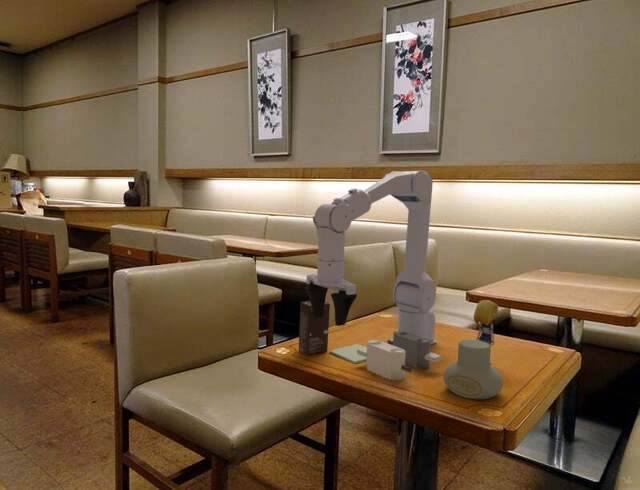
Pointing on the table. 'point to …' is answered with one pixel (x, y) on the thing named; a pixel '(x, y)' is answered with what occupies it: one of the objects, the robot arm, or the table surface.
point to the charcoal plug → (414, 349)
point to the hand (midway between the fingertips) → (329, 321)
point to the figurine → (485, 320)
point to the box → (313, 329)
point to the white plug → (385, 359)
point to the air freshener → (473, 372)
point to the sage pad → (350, 353)
